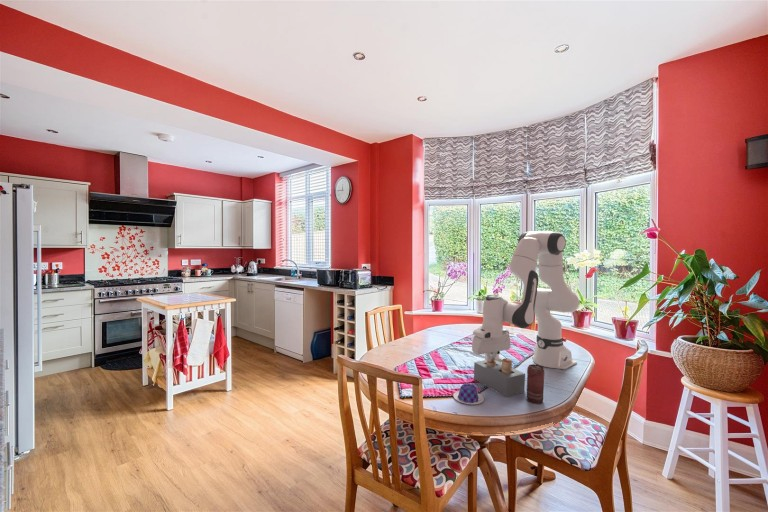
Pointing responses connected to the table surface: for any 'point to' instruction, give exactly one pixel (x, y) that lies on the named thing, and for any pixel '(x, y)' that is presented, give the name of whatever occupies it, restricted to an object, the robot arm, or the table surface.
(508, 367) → the peg
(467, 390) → the pudding
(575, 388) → the table surface
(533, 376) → the can
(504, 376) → the block
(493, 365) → the peg
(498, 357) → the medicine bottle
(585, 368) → the table surface
